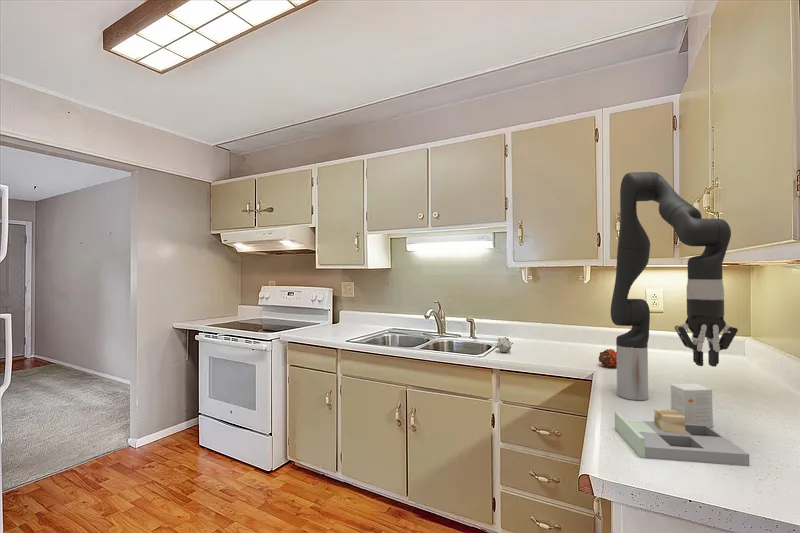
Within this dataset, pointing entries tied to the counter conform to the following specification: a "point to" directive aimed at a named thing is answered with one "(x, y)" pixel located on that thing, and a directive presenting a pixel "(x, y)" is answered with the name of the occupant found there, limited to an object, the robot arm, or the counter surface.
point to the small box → (693, 403)
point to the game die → (504, 345)
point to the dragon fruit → (608, 358)
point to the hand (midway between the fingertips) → (705, 365)
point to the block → (669, 421)
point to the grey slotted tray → (679, 443)
